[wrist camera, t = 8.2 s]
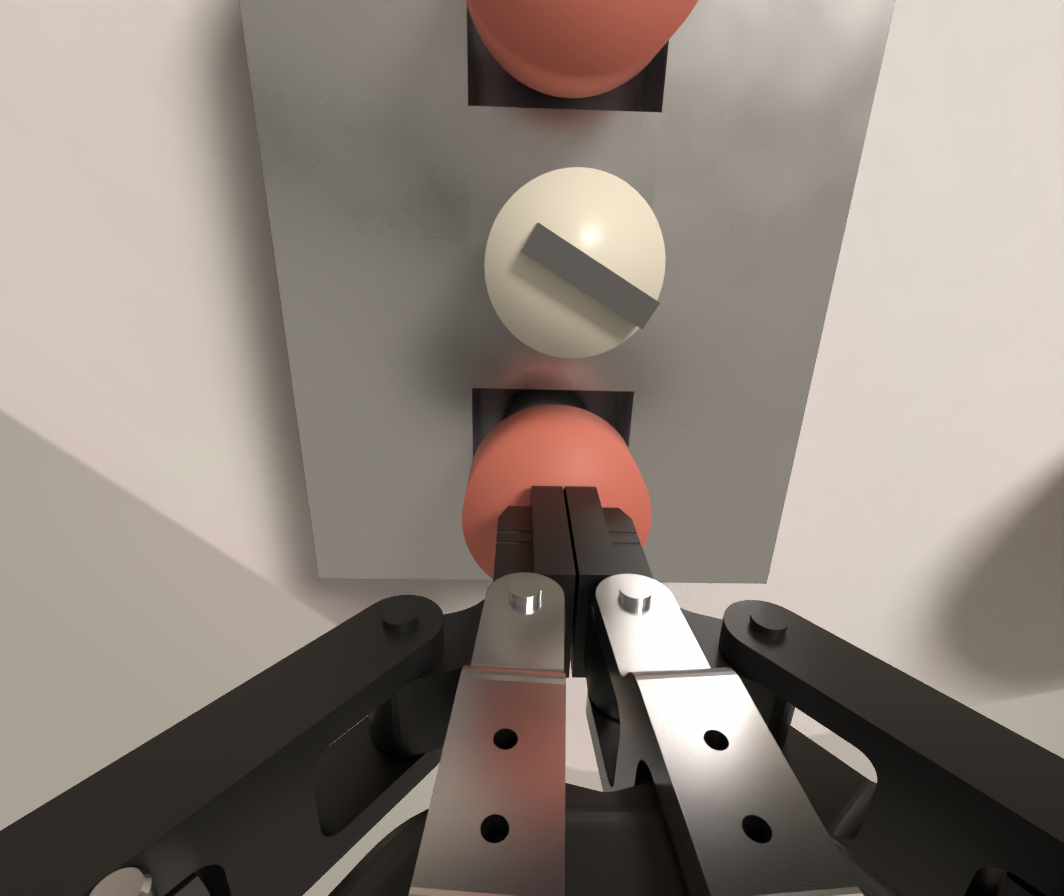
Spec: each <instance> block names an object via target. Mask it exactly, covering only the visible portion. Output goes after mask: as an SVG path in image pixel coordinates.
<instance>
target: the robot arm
mask: <svg viewBox="0 0 1064 896" xmlns="http://www.w3.org/2000/svg"><path fill="white" fill-rule="evenodd" d="M570 660H571V669H572V677H586V680H587V687H588V691H587V703H586V716H587V720H588V725H589V729H590V734H591V738H592V743H593V747H594V752H595V756H596V761H597V765H598V770H599V775H600V779H601V784H602V788H603V792H600V791H596V790H591V789H588V788H584V787H579V786H576V785H572V784H567V783H565V721H566V678H569V668H570ZM795 707H796V708H798V709H799V710H801V711H802V712H804V713H805V714H807V715H808V716H810V717H811V718H813V719H814V720H816V721H817V722H819V723H820V724H822V725H823V726H825V727H826V728H828V729H829V730H831V731H832V732H834V733H835V734H837V735H838V736H840V737H841V738H843V739H844V740H846V741H847V742H849V743H851V744H852V745H853V746H855V747H856V748H858V749H859V750H860V751H861V752H863V753H864V754H865V755H866V757H867V758H868V759H869V760H870V761H871V763H872V764H873V766H874V768H875V770H876V773H877V778H878V779H877V780H878V781H877V783H874V782H872V781H870V780H869V779H867V778H866V777H864V776H862V775H861V774H860V773H858V772H857V771H855V770H854V769H852V768H851V767H850V766H848V765H847V764H845V763H844V762H842V761H841V760H840V759H838V758H837V757H835V756H834V755H832V754H831V753H829V752H828V751H826V750H825V749H824V748H822V747H821V746H819V745H818V744H816V743H815V742H813V741H812V740H811V739H809V738H808V737H806V736H805V735H803V734H802V733H801V732H799V731H798V730H796V729H795V728H793V727H792V726H790V724H791V720H792V717H793V713H794V709H795ZM367 715H368V716H367ZM366 716H367V717H366ZM365 717H366V718H365ZM362 719H363V720H362ZM361 720H362V721H361ZM358 722H359V723H358ZM357 723H358V724H357ZM356 724H357V725H356ZM353 726H354V727H353ZM352 727H353V728H352ZM349 729H350V730H349ZM348 730H349V731H348ZM347 731H348V732H347ZM344 733H345V734H344ZM343 734H344V735H343ZM342 735H343V736H342ZM340 736H341V737H340ZM339 737H340V738H339ZM338 738H339V739H338ZM335 740H336V741H335ZM334 741H335V742H334ZM333 742H334V743H333ZM330 744H331V745H330ZM329 745H330V746H329ZM439 762H440V764H439V768H438V772H437V777H436V781H435V785H434V789H433V794H432V798H431V802H430V806H429V809H427V810H425V811H424V812H421V813H419V814H417V815H416V816H414V817H412V818H410V819H409V820H407V821H406V822H404V823H403V824H401V825H400V826H398V827H397V828H396V829H394V830H393V831H392V832H390V833H389V834H388V835H387V836H386V837H385V838H384V839H382V840H381V841H380V842H379V843H378V844H377V845H376V846H375V847H374V848H373V849H372V850H371V851H370V852H369V853H368V854H367V855H366V856H365V857H364V858H363V859H362V860H361V861H360V862H359V863H358V864H357V865H356V866H355V867H354V869H353V870H352V871H351V872H350V873H349V874H348V875H347V876H346V877H345V878H344V879H343V880H342V882H341V883H340V884H339V885H338V886H337V887H336V888H335V889H334V890H333V891H332V892H331V893H330V894H329V895H328V896H1064V759H1063V758H1061V757H1059V756H1058V755H1056V754H1054V753H1052V752H1050V751H1048V750H1046V749H1045V748H1043V747H1041V746H1039V745H1037V744H1035V743H1033V742H1032V741H1030V740H1028V739H1026V738H1024V737H1022V736H1021V735H1018V734H1017V733H1015V732H1013V731H1011V730H1009V729H1008V728H1006V727H1004V726H1002V725H1000V724H998V723H996V722H995V721H993V720H991V719H989V718H987V717H985V716H983V715H982V714H980V713H978V712H976V711H974V710H972V709H971V708H969V707H967V706H965V705H963V704H961V703H960V702H958V701H956V700H954V699H952V698H950V697H948V696H947V695H945V694H943V693H941V692H939V691H937V690H935V689H934V688H932V687H930V686H928V685H926V684H924V683H923V682H921V681H919V680H917V679H915V678H913V677H911V676H910V675H908V674H906V673H904V672H902V671H900V670H898V669H897V668H895V667H893V666H891V665H889V664H887V663H886V662H884V661H882V660H880V659H878V658H876V657H874V656H873V655H871V654H869V653H867V652H865V651H863V650H861V649H860V648H858V647H856V646H854V645H852V644H850V643H849V642H847V641H845V640H843V639H841V638H839V637H837V636H836V635H834V634H832V633H830V632H828V631H826V630H824V629H823V628H821V627H819V626H817V625H815V624H813V623H812V622H810V621H808V620H806V619H804V618H802V617H800V616H799V615H797V614H795V613H793V612H791V611H789V610H787V609H785V608H783V607H781V606H778V605H776V604H772V603H769V602H764V601H758V600H745V601H739V602H736V603H734V604H732V605H730V606H729V607H728V608H727V609H726V611H725V613H724V617H723V620H722V619H718V618H713V617H709V616H705V615H700V614H696V613H693V612H690V611H687V610H684V609H682V608H680V607H679V606H678V604H677V602H676V600H675V598H674V596H673V595H672V593H671V592H670V590H669V589H668V588H667V587H666V586H664V585H663V584H662V583H660V582H658V581H656V580H654V578H653V576H652V573H651V570H650V567H649V564H648V562H647V559H646V556H645V553H644V551H643V548H642V546H641V542H640V540H639V537H638V535H637V531H636V529H635V526H634V523H633V520H632V519H631V518H630V517H629V516H628V515H627V514H626V513H624V512H623V511H622V510H621V509H620V508H608V507H602V506H601V502H600V499H599V495H598V491H597V488H596V487H592V486H564V493H563V487H562V486H531V504H530V506H508V507H507V508H506V509H505V510H504V511H503V512H502V513H501V515H500V516H499V517H498V525H497V537H496V550H495V563H494V575H493V583H492V584H491V585H490V586H489V588H488V589H487V592H486V596H485V599H484V600H483V601H481V602H480V603H478V604H477V605H475V606H473V607H471V608H468V609H465V610H462V611H458V612H454V613H449V614H445V615H443V613H442V610H441V609H440V607H439V606H438V605H437V604H436V603H435V602H433V601H432V600H430V599H427V598H425V597H421V596H415V595H399V596H393V597H390V598H386V599H383V600H381V601H379V602H377V603H375V604H373V605H371V606H370V607H368V608H366V609H365V610H363V611H361V612H360V613H358V614H357V615H355V616H353V617H352V618H350V619H348V620H347V621H345V622H343V623H342V624H340V625H338V626H337V627H335V628H334V629H332V630H330V631H329V632H327V633H325V634H324V635H322V636H320V637H319V638H317V639H316V640H314V641H312V642H311V643H309V644H307V645H306V646H304V647H303V648H301V649H299V650H297V651H296V652H294V653H293V654H291V655H289V656H287V657H286V658H284V659H282V660H281V661H279V662H278V663H276V664H274V665H273V666H271V667H269V668H268V669H266V670H264V671H263V672H261V673H259V674H258V675H256V676H254V677H253V678H251V679H250V680H248V681H246V682H245V683H243V684H241V685H240V686H238V687H236V688H235V689H233V690H231V691H230V692H228V693H226V694H225V695H223V696H222V697H220V698H218V699H217V700H215V701H214V702H212V703H210V704H209V705H207V706H205V707H204V708H202V709H200V710H199V711H197V712H195V713H194V714H192V715H190V716H189V717H187V718H186V719H184V720H182V721H180V722H179V723H177V724H175V725H174V726H173V727H171V728H169V729H167V730H166V731H164V732H162V733H161V734H159V735H157V736H156V737H154V738H152V739H151V740H149V741H148V742H146V743H144V744H143V745H141V746H139V747H138V748H136V749H134V750H133V751H131V752H129V753H128V754H126V755H124V756H123V757H121V758H120V759H118V760H117V761H115V762H113V763H111V764H110V765H108V766H106V767H105V768H103V769H101V770H100V771H98V772H97V773H95V774H93V775H92V776H90V777H88V778H87V779H85V780H83V781H82V782H80V783H79V784H77V785H75V786H73V787H72V788H70V789H68V790H67V791H65V792H64V793H62V794H60V795H59V796H57V797H56V798H54V799H52V800H50V801H49V802H47V803H45V804H44V805H42V806H40V807H39V808H37V809H36V810H34V811H32V812H31V813H29V814H27V815H26V816H24V817H22V818H21V819H19V820H17V821H16V822H14V823H13V824H11V825H9V826H8V827H6V828H4V829H3V830H1V831H0V896H302V895H303V894H304V893H305V892H306V891H308V890H309V889H310V888H311V887H312V886H313V885H314V884H315V883H316V882H317V881H318V880H319V879H320V878H321V877H322V876H323V875H324V874H325V873H326V872H327V871H328V870H329V869H330V868H331V867H332V866H333V865H334V864H335V863H336V862H338V861H339V859H341V858H342V857H343V856H344V855H345V854H346V853H347V852H348V851H349V850H350V849H351V848H352V847H353V846H354V845H355V844H356V843H357V842H358V841H359V840H360V839H361V838H362V837H363V836H364V835H365V834H366V833H367V832H368V831H370V829H372V827H374V826H375V825H376V824H377V823H378V822H379V821H380V820H381V819H382V818H383V817H384V816H385V815H386V814H387V813H388V812H389V811H390V810H391V809H392V808H393V807H394V806H395V805H396V804H397V803H398V802H399V801H400V800H402V798H404V797H405V796H406V795H407V794H408V793H409V792H410V791H411V790H412V789H413V788H414V787H415V786H416V785H417V784H418V783H419V782H420V781H421V780H422V779H423V778H424V777H425V776H426V775H427V774H428V773H429V772H430V771H431V770H432V769H434V768H435V767H436V766H437V765H438V763H439Z"/></svg>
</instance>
